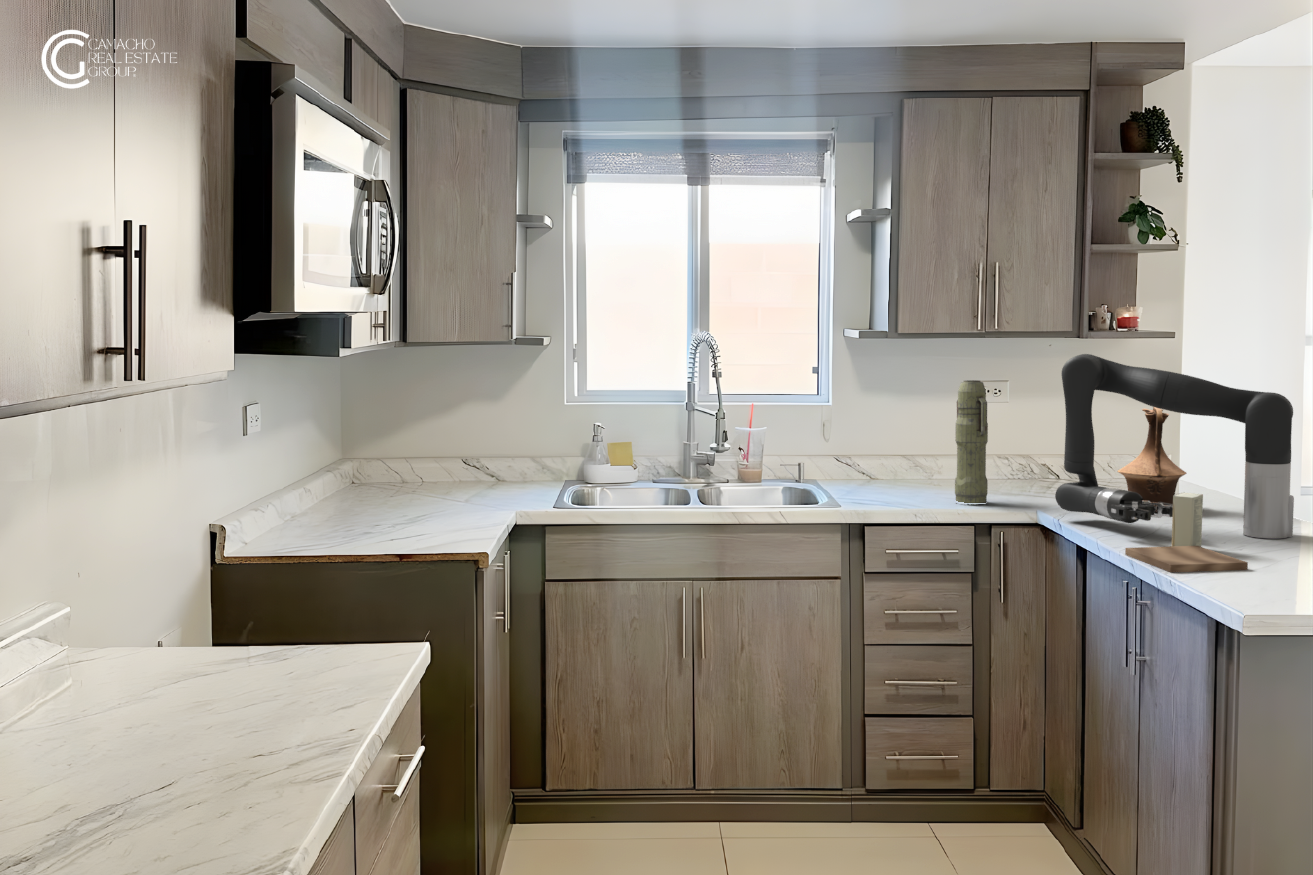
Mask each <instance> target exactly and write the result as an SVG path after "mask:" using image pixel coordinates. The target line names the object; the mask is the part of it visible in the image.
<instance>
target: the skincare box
mask: <svg viewBox="0 0 1313 875" xmlns="http://www.w3.org/2000/svg"><path fill="white" fill-rule="evenodd" d="M1203 502H1204V494H1202V493H1195V492H1185V491H1183V492H1179V493H1178V494H1175V495H1174V496H1173V517H1171V518H1172V523H1171V544H1170V545H1171V546H1200V547H1202V538H1203V537H1202V534H1203V531H1202V530H1203V505H1204V503H1203Z"/></svg>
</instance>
